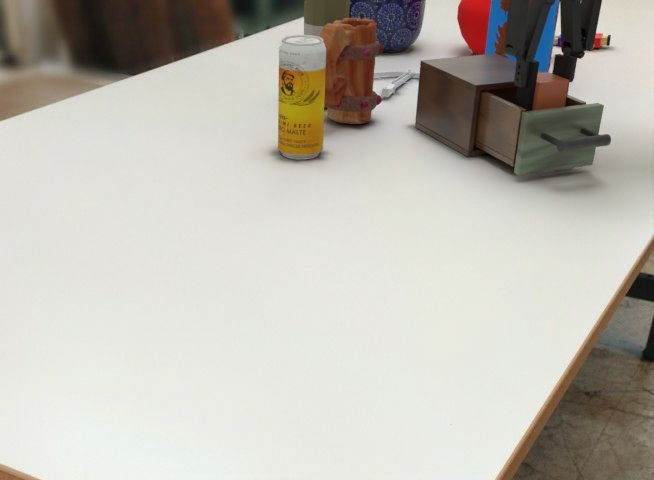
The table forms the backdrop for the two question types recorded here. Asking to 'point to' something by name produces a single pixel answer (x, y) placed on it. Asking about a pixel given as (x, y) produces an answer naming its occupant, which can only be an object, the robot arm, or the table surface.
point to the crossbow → (397, 82)
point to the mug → (350, 69)
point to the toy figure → (598, 41)
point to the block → (550, 91)
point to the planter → (392, 20)
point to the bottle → (323, 14)
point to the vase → (474, 23)
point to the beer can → (301, 96)
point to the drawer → (538, 132)
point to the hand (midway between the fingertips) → (539, 109)
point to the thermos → (499, 30)
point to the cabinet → (458, 96)
